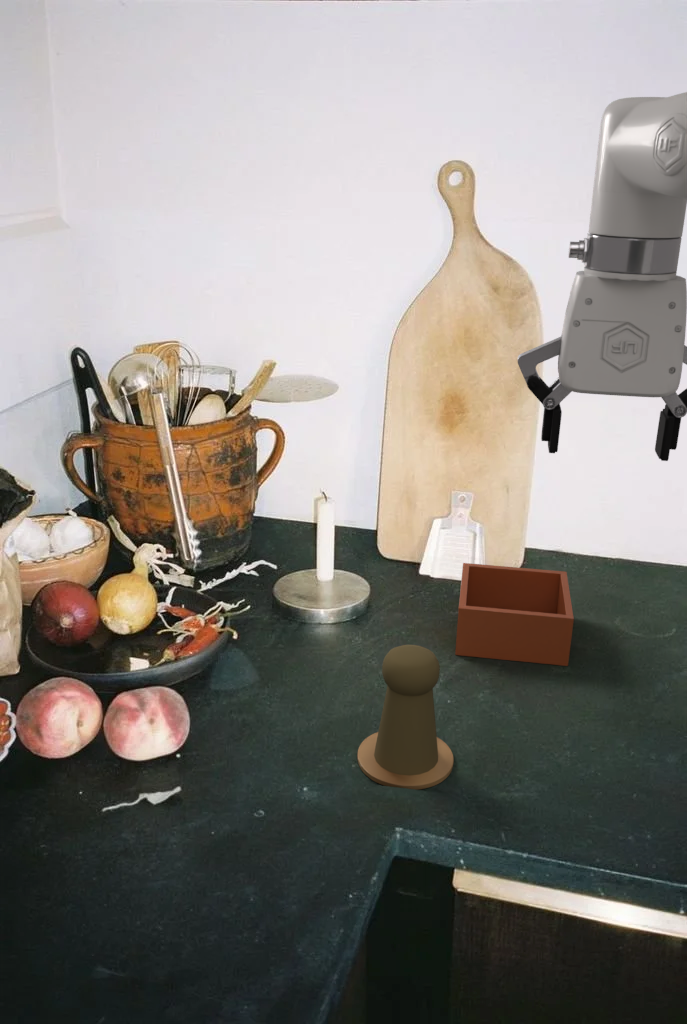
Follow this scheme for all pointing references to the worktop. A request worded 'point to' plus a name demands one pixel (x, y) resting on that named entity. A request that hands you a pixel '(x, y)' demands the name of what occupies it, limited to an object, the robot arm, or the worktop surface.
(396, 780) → the coaster
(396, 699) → the olive brown pawn
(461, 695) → the worktop surface
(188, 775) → the worktop surface
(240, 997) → the worktop surface
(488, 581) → the terracotta open box
